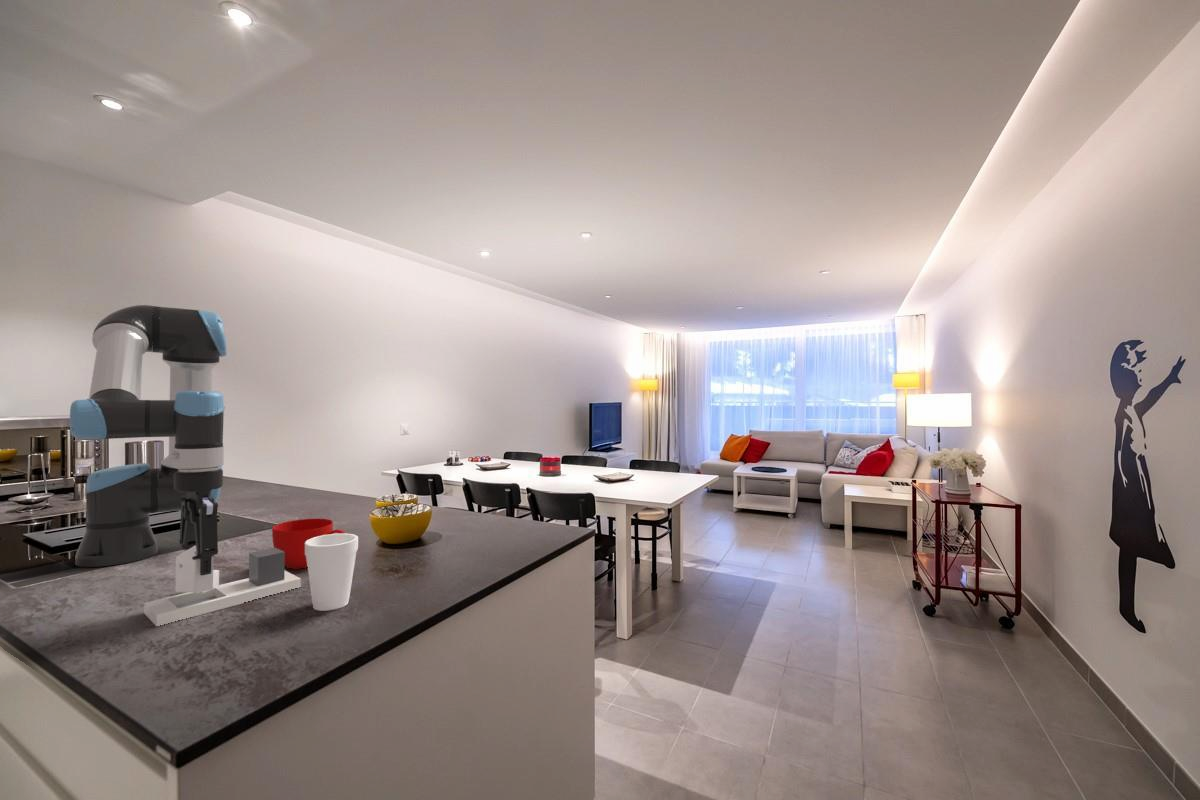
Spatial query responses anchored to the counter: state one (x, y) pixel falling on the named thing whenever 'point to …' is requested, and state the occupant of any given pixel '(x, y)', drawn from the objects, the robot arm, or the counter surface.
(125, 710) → the counter surface
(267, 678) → the counter surface
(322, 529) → the ceramic cup
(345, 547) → the foam cup
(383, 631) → the counter surface
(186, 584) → the white angled block
